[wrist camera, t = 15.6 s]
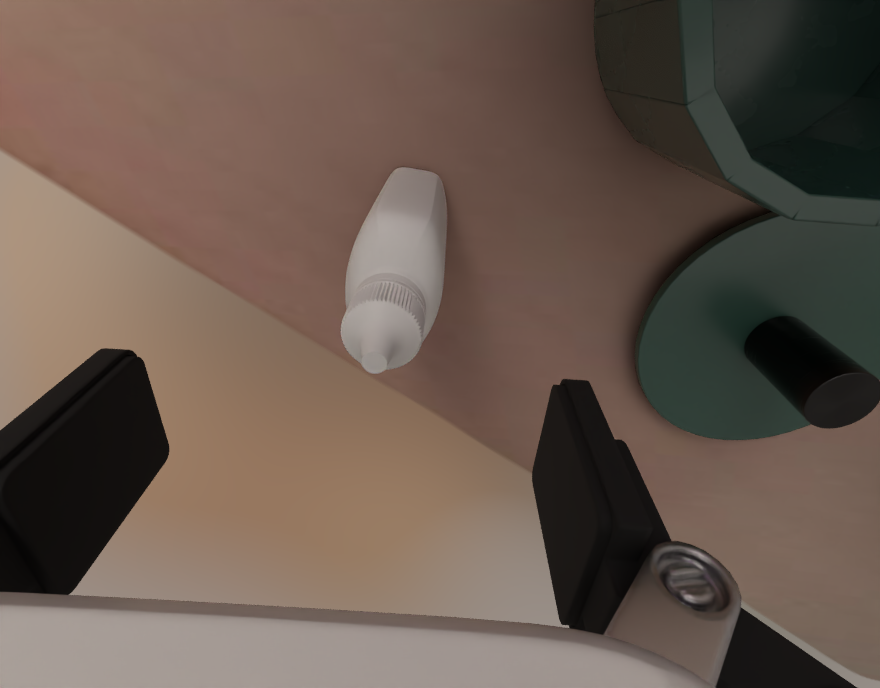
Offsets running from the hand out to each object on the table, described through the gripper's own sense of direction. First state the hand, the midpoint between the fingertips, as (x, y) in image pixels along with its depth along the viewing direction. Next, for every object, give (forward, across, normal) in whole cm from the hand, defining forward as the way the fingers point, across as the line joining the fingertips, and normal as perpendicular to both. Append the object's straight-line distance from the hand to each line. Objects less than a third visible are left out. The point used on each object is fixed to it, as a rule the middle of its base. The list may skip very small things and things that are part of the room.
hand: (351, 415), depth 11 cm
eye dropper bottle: (+14, 0, 0) cm, 14 cm away
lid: (+13, -19, +4) cm, 24 cm away
